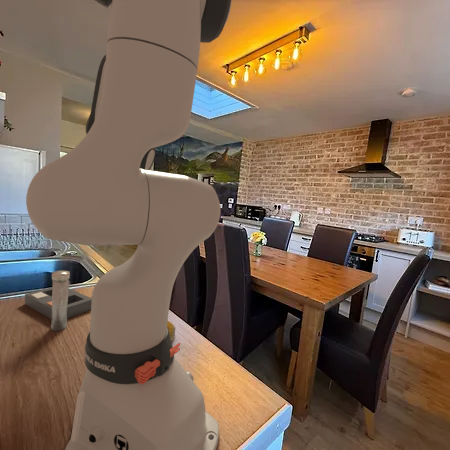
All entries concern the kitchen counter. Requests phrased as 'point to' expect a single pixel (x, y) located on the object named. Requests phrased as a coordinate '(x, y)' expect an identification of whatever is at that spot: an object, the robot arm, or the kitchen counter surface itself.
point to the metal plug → (59, 300)
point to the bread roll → (171, 330)
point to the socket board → (43, 302)
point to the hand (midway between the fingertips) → (70, 209)
